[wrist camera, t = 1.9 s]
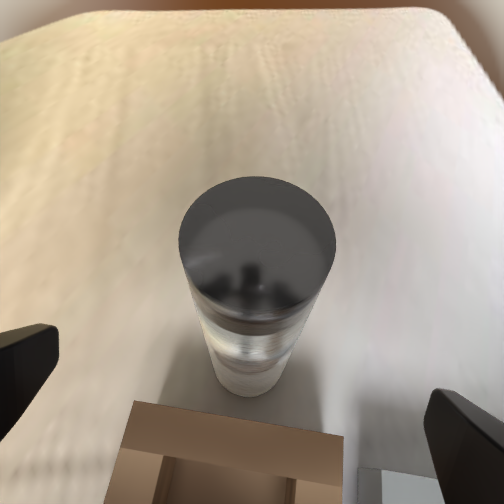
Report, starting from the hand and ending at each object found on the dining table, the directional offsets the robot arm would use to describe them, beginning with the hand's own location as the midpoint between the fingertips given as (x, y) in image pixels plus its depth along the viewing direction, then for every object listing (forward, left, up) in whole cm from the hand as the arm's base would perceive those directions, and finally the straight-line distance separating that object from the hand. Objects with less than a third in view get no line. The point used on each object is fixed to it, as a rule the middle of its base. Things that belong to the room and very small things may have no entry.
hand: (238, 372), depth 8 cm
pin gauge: (+2, -2, -12) cm, 12 cm away
